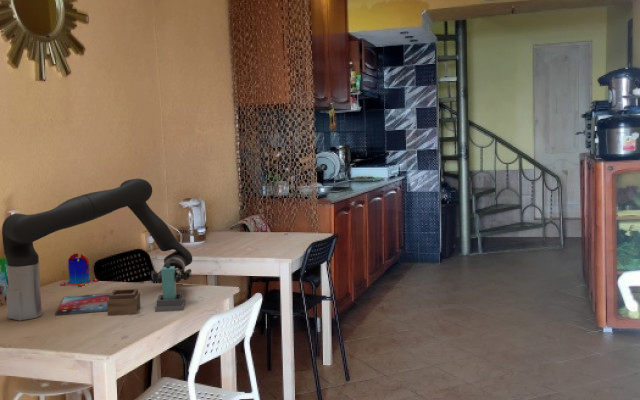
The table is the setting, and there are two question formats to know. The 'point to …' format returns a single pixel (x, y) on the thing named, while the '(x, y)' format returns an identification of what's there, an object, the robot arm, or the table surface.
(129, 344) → the table surface
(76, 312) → the tablet
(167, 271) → the plug block
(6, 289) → the robot arm
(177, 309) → the lower dock
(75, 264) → the fantasy tower
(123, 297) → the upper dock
